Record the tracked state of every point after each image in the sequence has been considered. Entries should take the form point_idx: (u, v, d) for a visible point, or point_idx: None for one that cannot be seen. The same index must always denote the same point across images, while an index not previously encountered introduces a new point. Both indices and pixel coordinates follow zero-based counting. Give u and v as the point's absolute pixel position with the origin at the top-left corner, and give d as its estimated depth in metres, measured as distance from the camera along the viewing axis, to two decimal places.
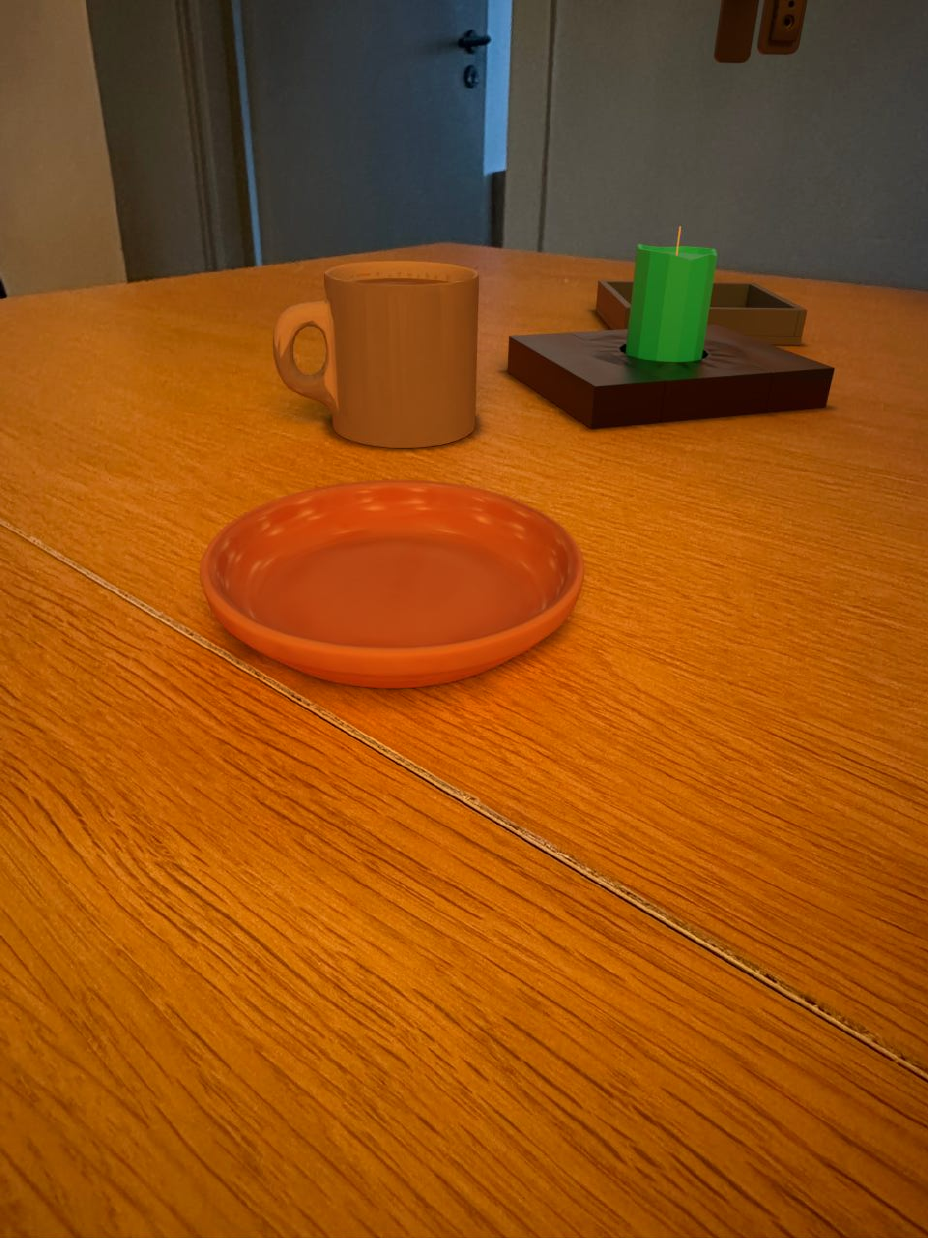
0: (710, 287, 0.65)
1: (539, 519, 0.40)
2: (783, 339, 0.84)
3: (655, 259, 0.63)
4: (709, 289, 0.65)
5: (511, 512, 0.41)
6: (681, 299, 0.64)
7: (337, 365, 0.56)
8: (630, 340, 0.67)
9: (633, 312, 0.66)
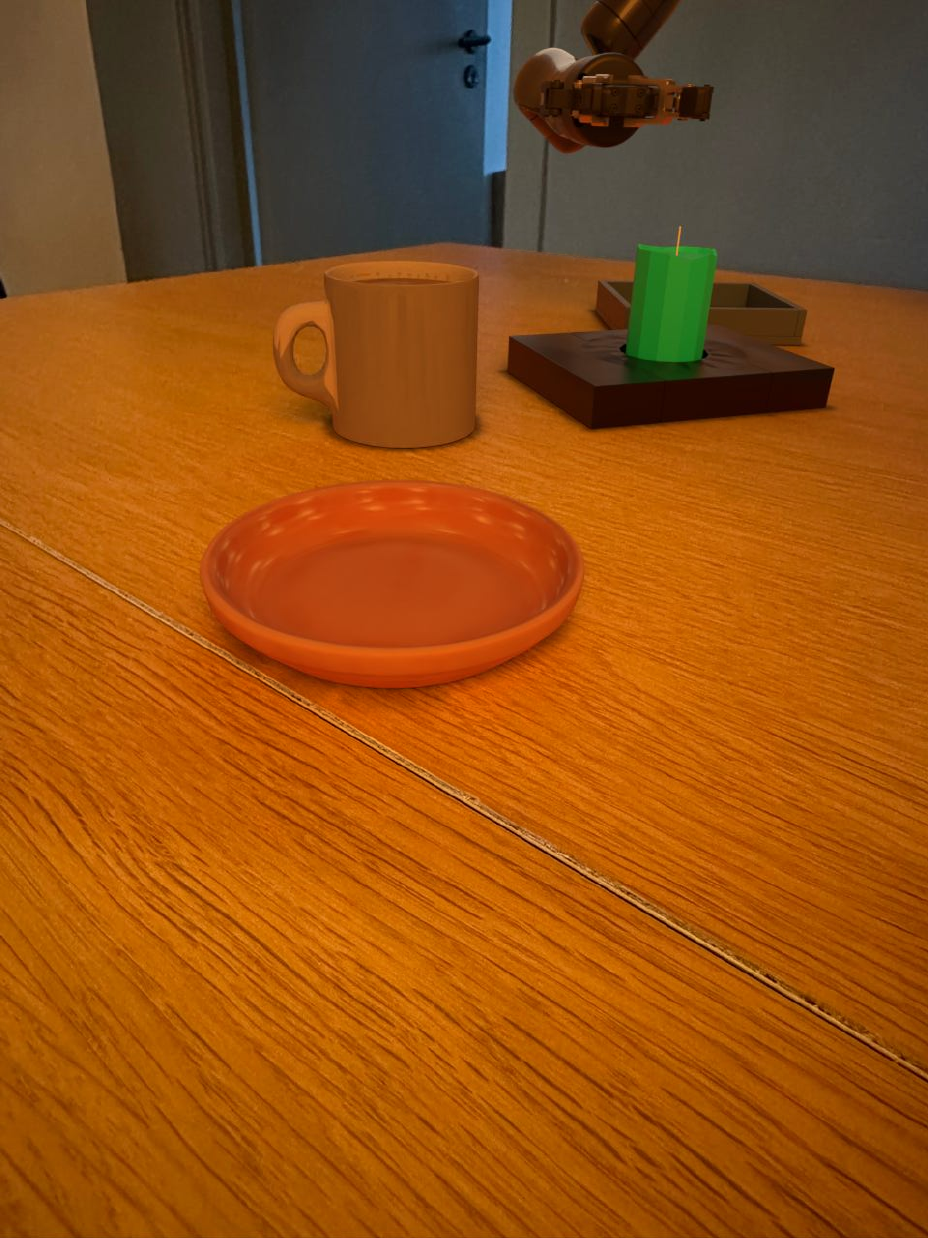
0: (710, 287, 0.65)
1: (539, 519, 0.40)
2: (783, 339, 0.84)
3: (655, 259, 0.63)
4: (709, 289, 0.65)
5: (511, 512, 0.41)
6: (681, 299, 0.64)
7: (337, 365, 0.56)
8: (630, 340, 0.67)
9: (633, 312, 0.66)
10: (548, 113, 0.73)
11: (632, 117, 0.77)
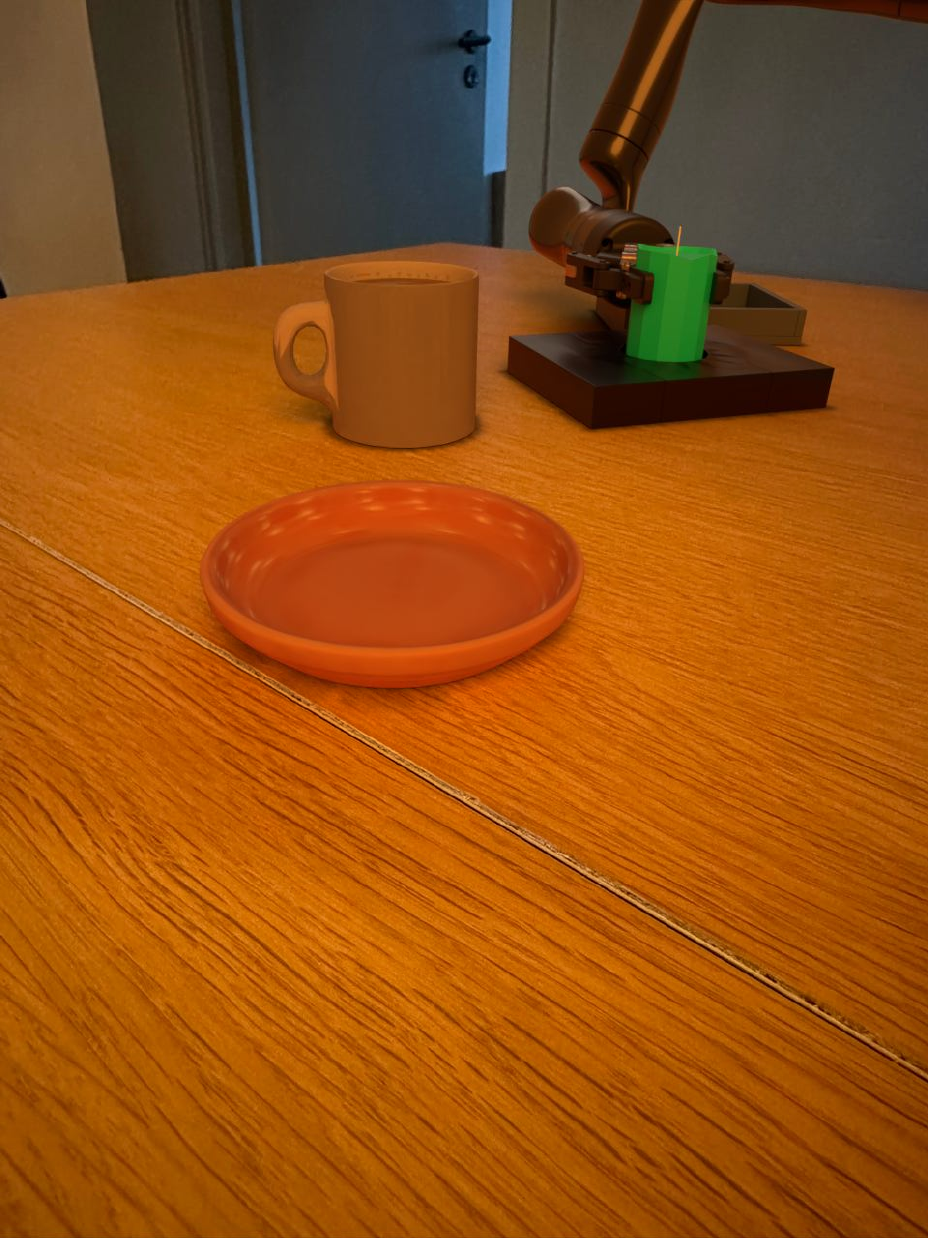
0: (710, 287, 0.65)
1: (539, 519, 0.40)
2: (783, 339, 0.84)
3: (655, 259, 0.63)
4: (709, 289, 0.65)
5: (511, 512, 0.41)
6: (681, 299, 0.64)
7: (337, 365, 0.56)
8: (630, 340, 0.67)
9: (633, 312, 0.66)
10: (594, 294, 0.68)
11: None
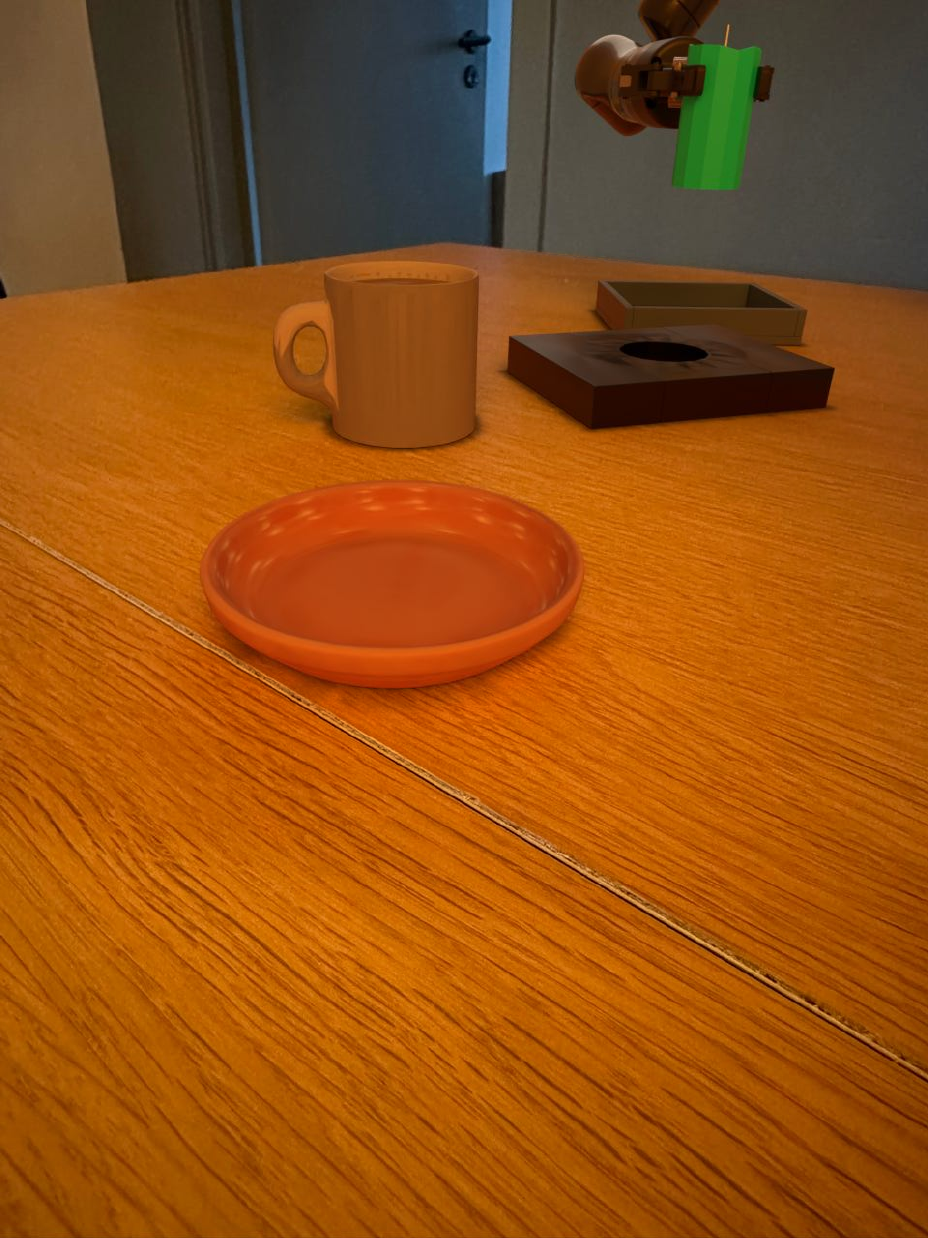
0: (755, 81, 0.72)
1: (539, 519, 0.40)
2: (783, 339, 0.84)
3: (707, 51, 0.70)
4: (754, 83, 0.72)
5: (511, 512, 0.41)
6: (729, 89, 0.71)
7: (337, 365, 0.56)
8: (681, 136, 0.75)
9: (684, 108, 0.74)
10: (648, 95, 0.75)
11: None
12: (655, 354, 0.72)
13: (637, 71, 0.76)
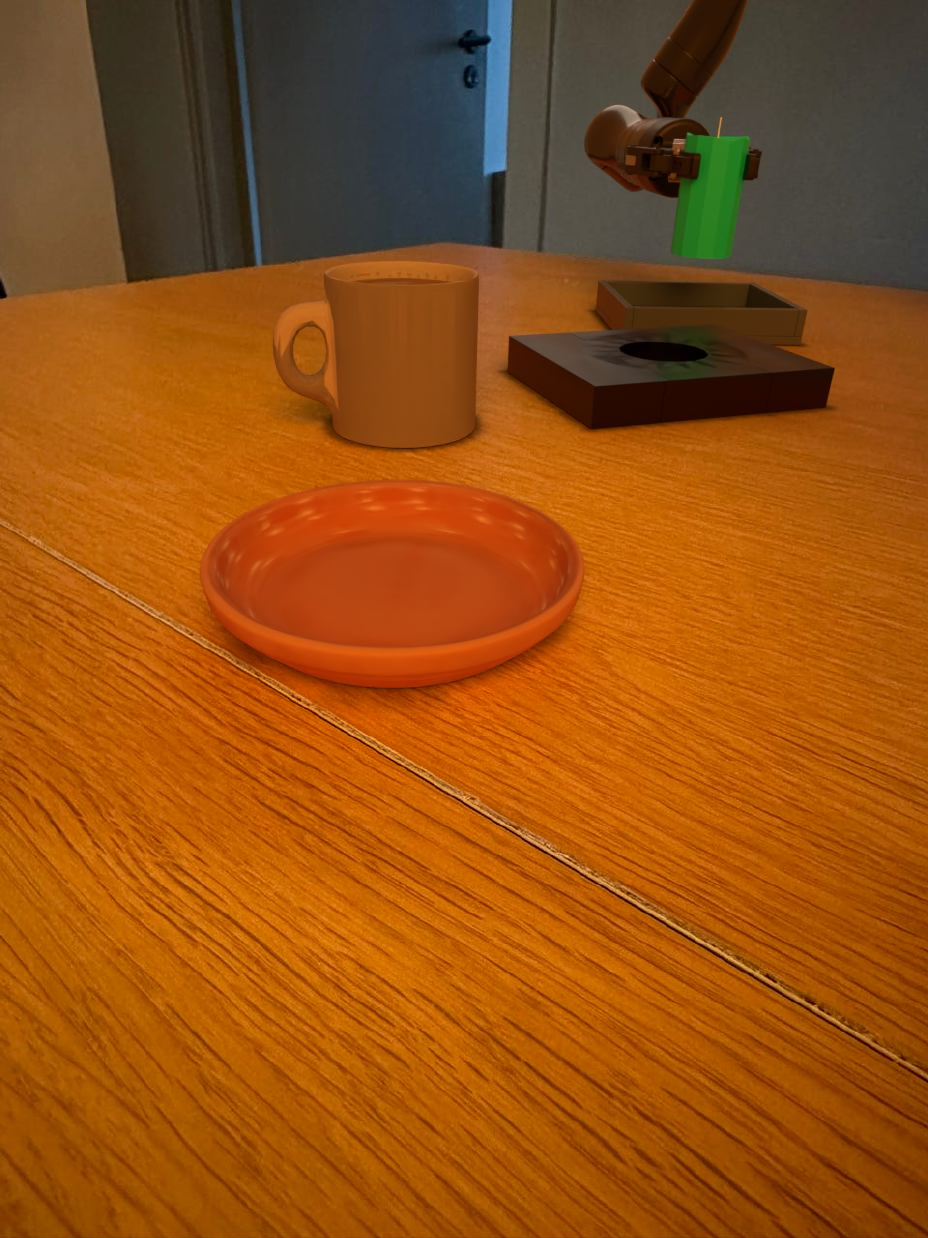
0: (744, 166, 0.82)
1: (539, 519, 0.40)
2: (783, 339, 0.84)
3: (702, 142, 0.81)
4: (743, 167, 0.82)
5: (511, 512, 0.41)
6: (721, 174, 0.81)
7: (337, 365, 0.56)
8: (679, 212, 0.85)
9: (682, 188, 0.84)
10: (650, 175, 0.85)
11: None
12: (655, 354, 0.72)
13: (641, 153, 0.86)
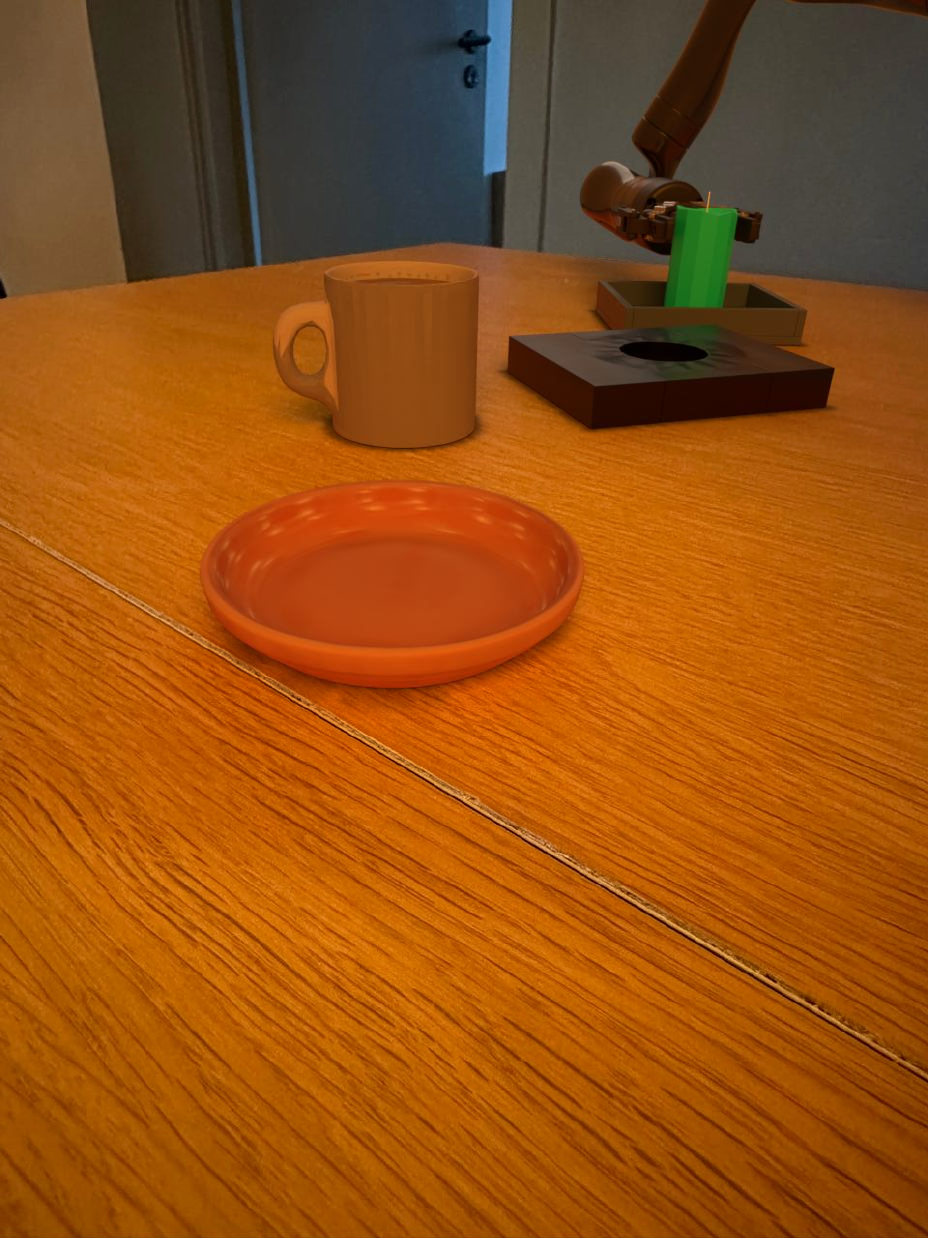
0: (732, 237, 0.85)
1: (539, 519, 0.40)
2: (783, 339, 0.84)
3: (691, 215, 0.84)
4: (731, 239, 0.85)
5: (511, 512, 0.41)
6: (710, 246, 0.84)
7: (337, 365, 0.56)
8: (670, 280, 0.88)
9: (673, 258, 0.87)
10: (626, 236, 0.89)
11: None
12: (655, 354, 0.72)
13: (623, 215, 0.90)
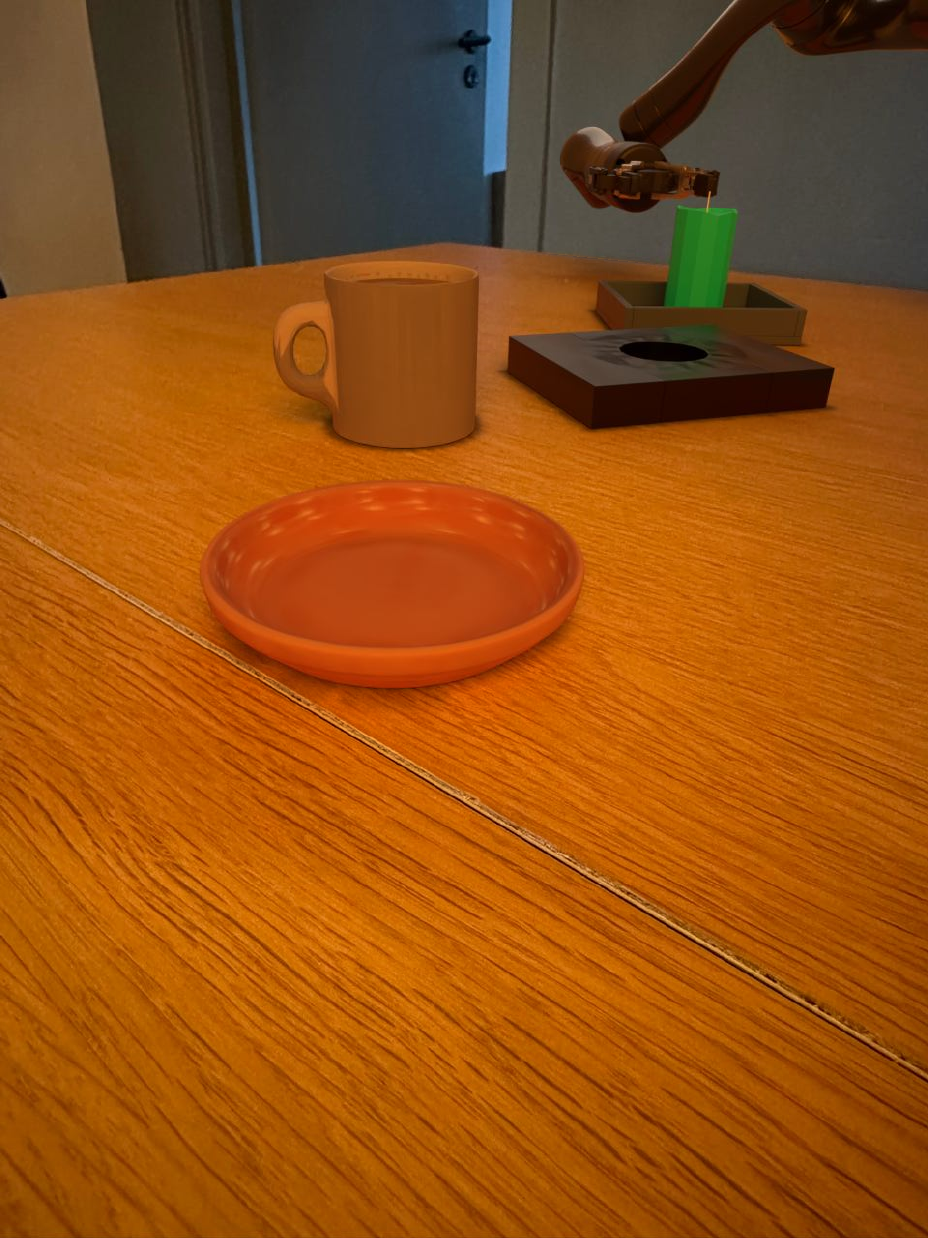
0: (732, 237, 0.85)
1: (539, 519, 0.40)
2: (783, 339, 0.84)
3: (691, 215, 0.84)
4: (731, 239, 0.85)
5: (511, 512, 0.41)
6: (710, 246, 0.84)
7: (337, 365, 0.56)
8: (670, 280, 0.88)
9: (673, 257, 0.87)
10: (596, 192, 0.98)
11: (658, 192, 1.01)
12: (655, 354, 0.72)
13: (593, 173, 0.98)
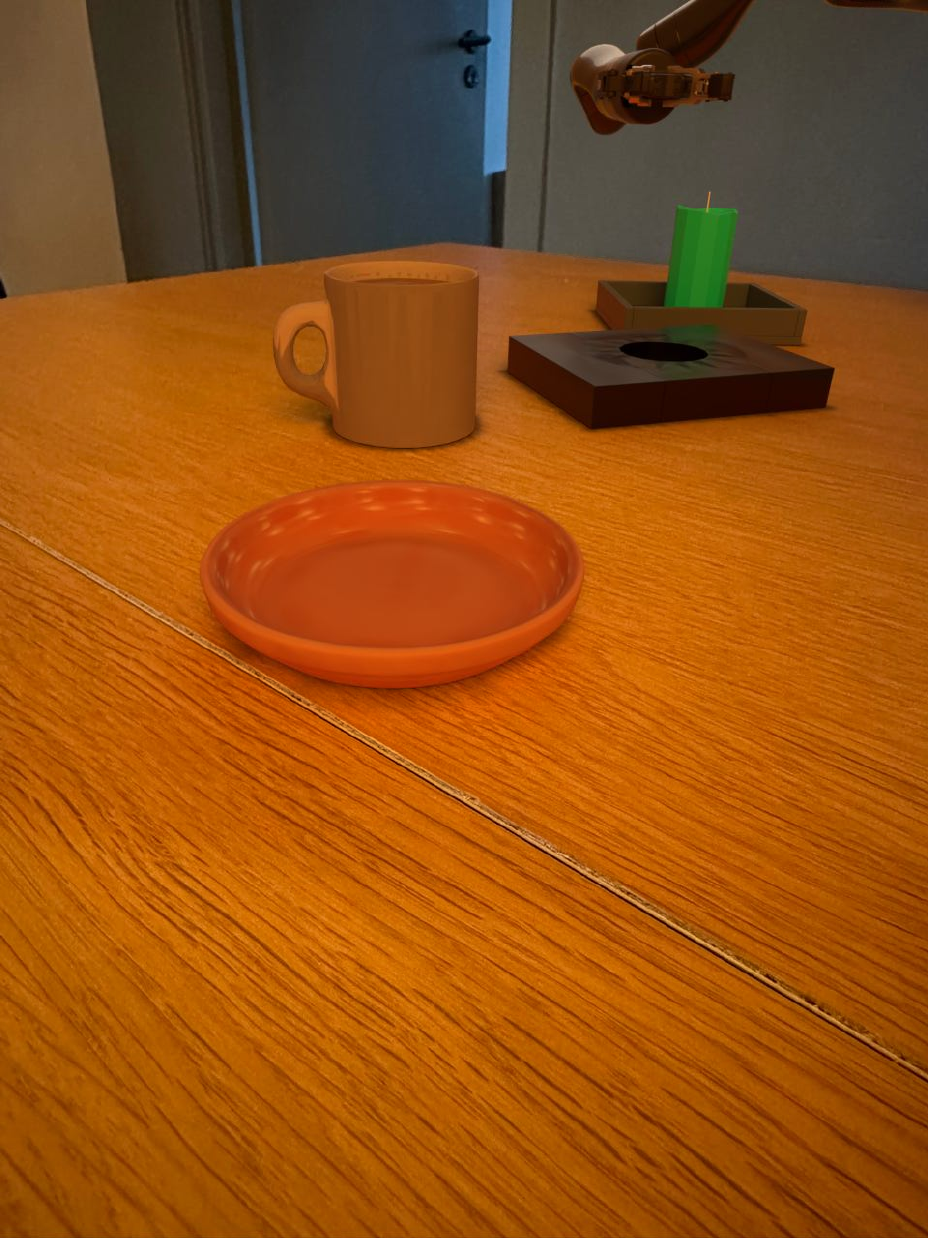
0: (732, 237, 0.85)
1: (539, 519, 0.40)
2: (783, 339, 0.84)
3: (691, 215, 0.84)
4: (731, 239, 0.85)
5: (511, 512, 0.41)
6: (710, 246, 0.84)
7: (337, 365, 0.56)
8: (670, 280, 0.88)
9: (673, 257, 0.87)
10: (605, 95, 0.93)
11: (670, 99, 0.97)
12: (655, 354, 0.72)
13: (603, 76, 0.94)
